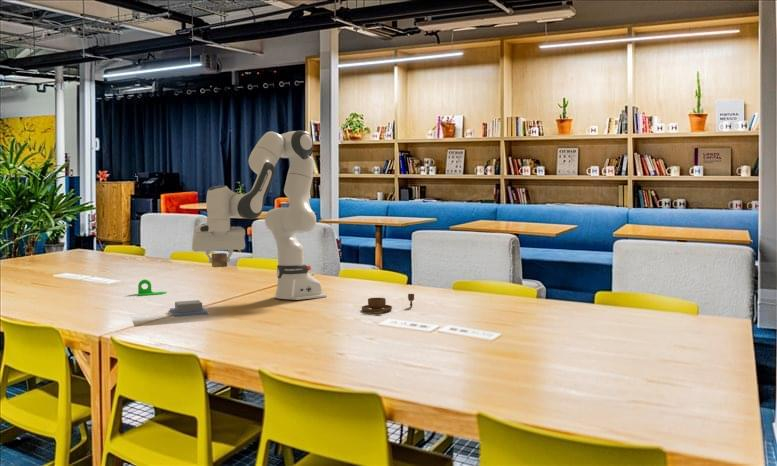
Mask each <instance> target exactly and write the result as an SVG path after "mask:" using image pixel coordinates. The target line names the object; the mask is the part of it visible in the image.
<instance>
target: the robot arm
mask: <svg viewBox="0 0 777 466" xmlns="http://www.w3.org/2000/svg"><path fill="white" fill-rule="evenodd" d="M313 150H314V139H313V136H312V135H311V134H310V132H309V131H305V130H291V131H287V132H283V133H281V134H279V133H278V132H275V131H267V132H265V133H264V134H263V135H262V136H261V138H260V139H259V140H258V141H257V143H256V144H255V146H254V147H253V149H252V151H251V153H250V154H249V157H248V160H247V161H248V166H249V168H250V169H251V170H252V172H253V173H255V174H256V175H257V176H256V179H255V181H254V183H253V186H252V188H251V190H250V191H249V192H247V193H237V192H235V191H233V190H231V189H230V188H229V187H228V186H227V185H226V184H225V185H223V184H222V185H214V186H211V187H209V188H208V189H207V191H206V192H207V193H206V211H207V217H206V223H201V224H200V225H196V226H195V227H194V230H195V233H194V234H193V235H192V241H191V249H192V250H193V252H205V255H206V256H207V259H208V263H209V264H212V262H213V258H212V256H211V255H210V254H211V252H215V251H216V252H218V251H227V263H229V262H230V261H231V258H232V257H231V256H232V254H233V253H234V252H233V251H236V250H237V251H241V250H245V248H246V242H245V241H246V240H245V236H246V230H245V228H244V227H242V226H231V218H232V219H245V220H247V219H248V220H255V219H257V218H259V217H260V216H261V214H262V212H263V209H264V205H265V200H266V198H267V195H268V192H269V189H270V187H271V185H272V183H273V179H274V178H275V173H276V169H275V168H276V165H277V163H278V161H279V160H280V159H288V160H289V168H288V171H287V175H286V180H285V184H284V187H283V193H284V195H285V196H286V197H287V198H288V202H289V204H288V206H287V207H276V208H272V209H269V210H268V211H267V213H266V214H265V218H264V222H265V226H266V228H267V229H268V230H269V231H270V232H271V234H272V235H273V237H274V241H275V244H276V247H277V265H276V266H277V267H276V277H277V284H276V292H275V295H274V298H275V299H279V300H280V299H281V300H294V301H295V300H296V301H297V300H300V301H301V300H307V299H317V298H319V299H321V298H327V297H328V294H327V292H323V288H322V284H321V281H320V280H318V279H317V278H315V276H313V275H312V274H310V273H309V271H311V270H312V266H311V265H306V264H305V262H304V261H305V259H304V258H305V255H304V254H305V253H304V251H305V250H304V245H303V244H302V243H301V242H300V241H299V240H298V238H297V236H296V234H303V233H307V232H311V231H313V229H314V228H315V226H317V225H316V224H317V216H316V213H315V211H314V210H313V209H312V207H311V204H310V193H311V189H312V183H313V178H314V172H315V171H314V170H315V162H314V158H313V157H312V155H313Z"/></svg>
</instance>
